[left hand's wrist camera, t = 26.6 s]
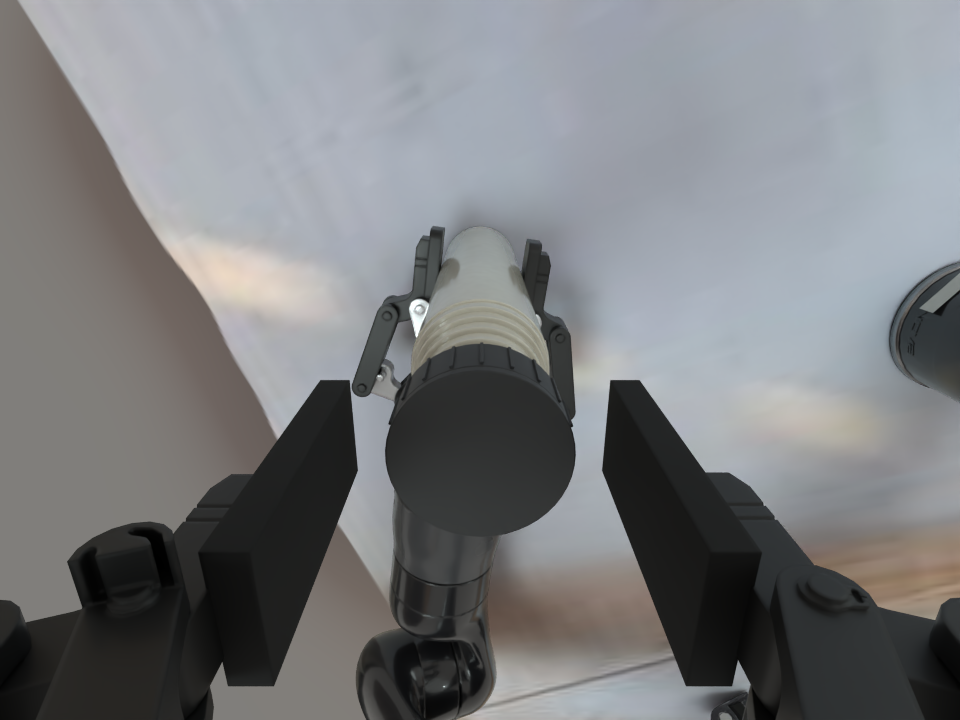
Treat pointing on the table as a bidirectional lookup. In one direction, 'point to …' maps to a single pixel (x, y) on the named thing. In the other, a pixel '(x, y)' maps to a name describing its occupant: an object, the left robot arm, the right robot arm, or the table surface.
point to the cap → (480, 441)
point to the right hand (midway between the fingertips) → (485, 236)
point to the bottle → (480, 301)
